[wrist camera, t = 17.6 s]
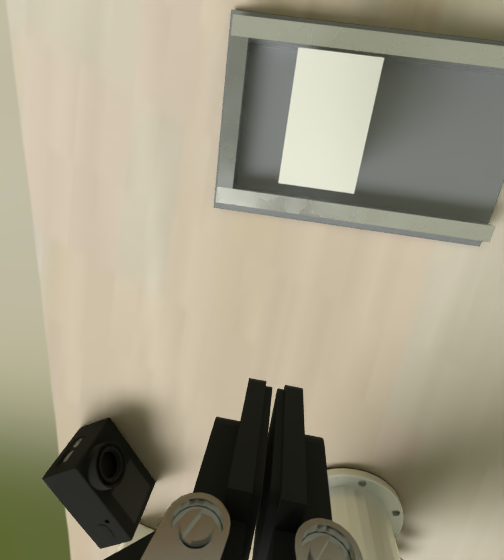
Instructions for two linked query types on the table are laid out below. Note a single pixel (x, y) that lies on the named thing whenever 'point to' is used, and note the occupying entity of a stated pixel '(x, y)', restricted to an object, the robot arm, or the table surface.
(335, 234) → the table surface
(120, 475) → the digital camera
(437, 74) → the plate
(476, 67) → the rail guides
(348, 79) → the block
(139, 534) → the medicine bottle
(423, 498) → the table surface
